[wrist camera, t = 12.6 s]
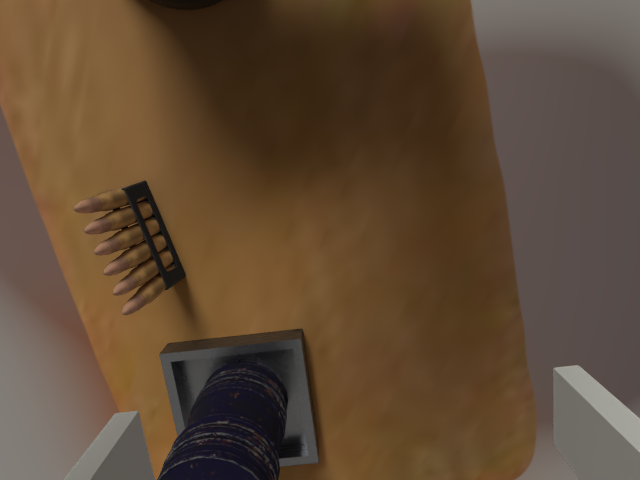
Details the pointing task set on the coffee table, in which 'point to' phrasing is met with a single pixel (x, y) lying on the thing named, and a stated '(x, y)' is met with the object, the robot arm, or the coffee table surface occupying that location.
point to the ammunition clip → (134, 243)
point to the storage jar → (232, 427)
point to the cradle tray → (265, 348)
